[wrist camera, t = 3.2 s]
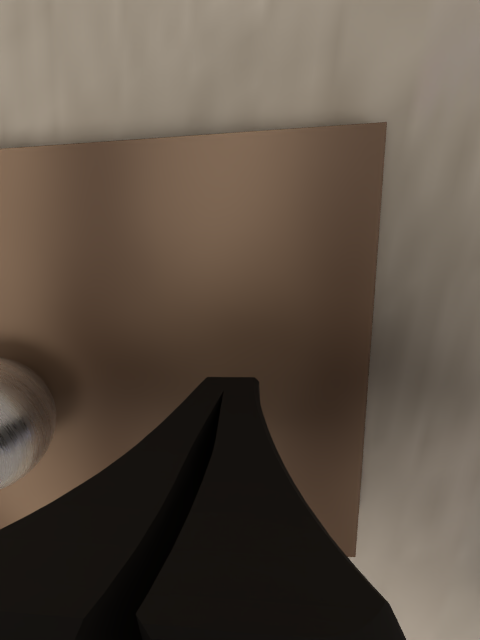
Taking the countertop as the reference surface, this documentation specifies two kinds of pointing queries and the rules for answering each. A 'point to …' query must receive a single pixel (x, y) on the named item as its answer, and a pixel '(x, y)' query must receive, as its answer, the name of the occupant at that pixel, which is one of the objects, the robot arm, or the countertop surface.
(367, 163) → the walnut board
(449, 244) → the countertop surface
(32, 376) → the steel ball
